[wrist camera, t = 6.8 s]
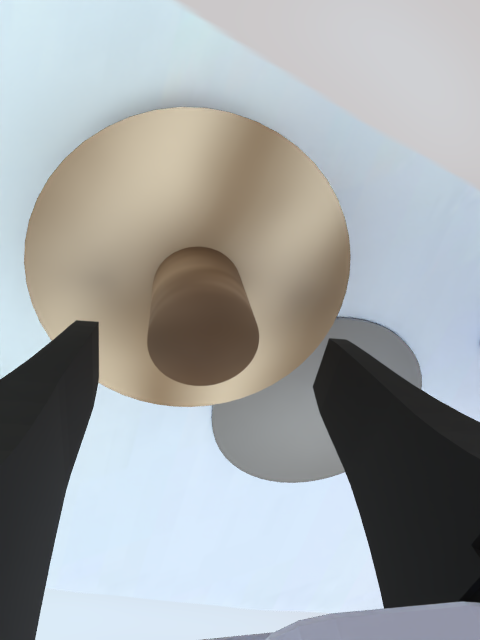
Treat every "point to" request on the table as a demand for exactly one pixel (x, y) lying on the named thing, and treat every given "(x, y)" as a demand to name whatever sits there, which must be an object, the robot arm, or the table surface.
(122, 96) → the table surface
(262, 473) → the mat
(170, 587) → the table surface
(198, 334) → the lid
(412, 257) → the table surface
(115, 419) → the table surface
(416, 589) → the robot arm
